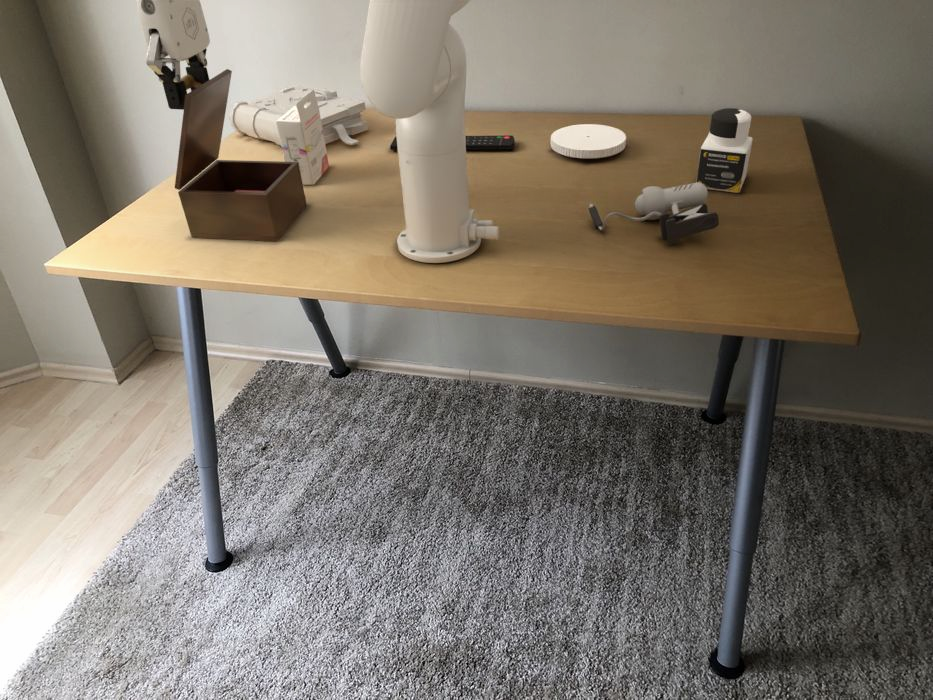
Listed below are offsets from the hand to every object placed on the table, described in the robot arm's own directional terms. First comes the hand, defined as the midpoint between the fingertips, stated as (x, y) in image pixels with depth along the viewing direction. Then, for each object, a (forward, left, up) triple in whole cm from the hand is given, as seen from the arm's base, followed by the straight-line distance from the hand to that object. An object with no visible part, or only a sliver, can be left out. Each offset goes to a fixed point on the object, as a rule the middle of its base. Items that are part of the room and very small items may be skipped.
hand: (191, 100), depth 109 cm
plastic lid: (-58, -35, -20) cm, 71 cm away
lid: (-1, 0, -5) cm, 5 cm away
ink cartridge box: (-8, -19, -20) cm, 29 cm away
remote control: (-32, -35, -20) cm, 51 cm away
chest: (-5, 0, -20) cm, 20 cm away
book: (0, -40, -20) cm, 45 cm away
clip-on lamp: (-69, -3, -20) cm, 72 cm away
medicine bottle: (-81, -21, -20) cm, 86 cm away
